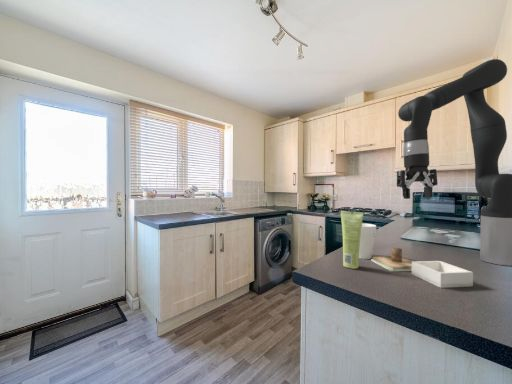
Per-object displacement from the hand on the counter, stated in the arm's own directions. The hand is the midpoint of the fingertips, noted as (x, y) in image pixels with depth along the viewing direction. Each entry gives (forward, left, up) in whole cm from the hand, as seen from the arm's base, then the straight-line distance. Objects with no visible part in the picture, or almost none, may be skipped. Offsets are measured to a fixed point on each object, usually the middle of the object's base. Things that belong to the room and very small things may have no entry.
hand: (417, 198), depth 80 cm
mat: (+9, +1, -24) cm, 26 cm away
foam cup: (+15, -10, -24) cm, 30 cm away
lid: (+9, +1, -24) cm, 25 cm away
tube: (+26, +1, -24) cm, 36 cm away
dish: (+5, +14, -24) cm, 28 cm away
